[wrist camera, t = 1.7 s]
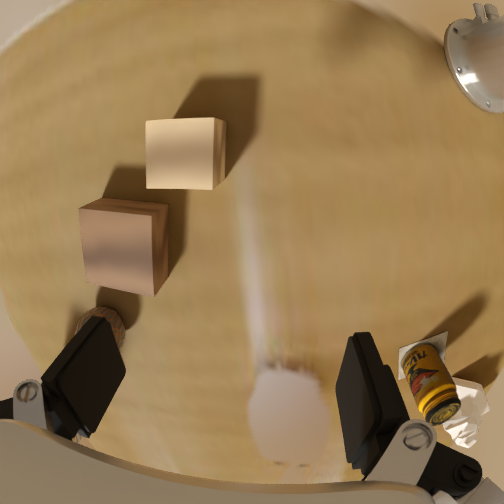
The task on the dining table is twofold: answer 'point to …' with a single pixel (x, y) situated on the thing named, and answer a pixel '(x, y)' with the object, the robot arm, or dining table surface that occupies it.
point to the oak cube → (185, 153)
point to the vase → (110, 316)
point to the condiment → (430, 379)
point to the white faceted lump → (467, 412)
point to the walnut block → (125, 244)
